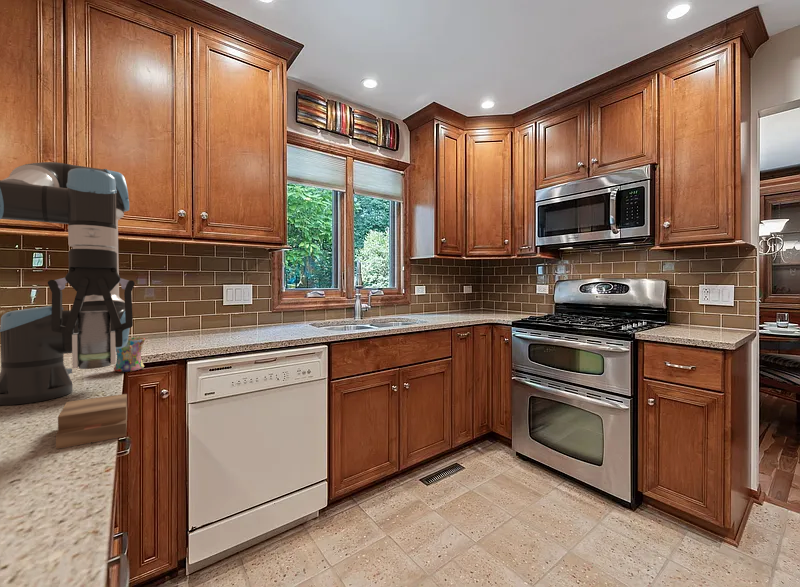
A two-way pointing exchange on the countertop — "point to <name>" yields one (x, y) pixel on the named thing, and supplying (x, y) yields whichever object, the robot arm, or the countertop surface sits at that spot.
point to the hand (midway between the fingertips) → (95, 364)
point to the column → (94, 339)
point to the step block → (92, 420)
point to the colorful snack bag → (130, 356)
